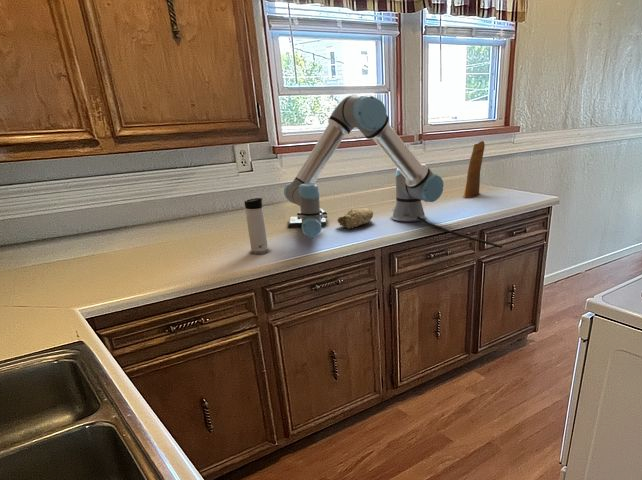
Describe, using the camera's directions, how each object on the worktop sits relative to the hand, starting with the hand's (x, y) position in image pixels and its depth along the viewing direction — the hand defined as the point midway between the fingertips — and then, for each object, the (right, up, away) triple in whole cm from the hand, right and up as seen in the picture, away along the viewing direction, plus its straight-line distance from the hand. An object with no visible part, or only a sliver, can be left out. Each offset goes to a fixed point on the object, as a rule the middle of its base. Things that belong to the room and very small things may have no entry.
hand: (312, 207), depth 234 cm
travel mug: (-14, -28, -36) cm, 47 cm away
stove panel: (-2, -7, +2) cm, 8 cm away
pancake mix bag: (+81, +23, +57) cm, 102 cm away
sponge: (+20, -8, +1) cm, 22 cm away
